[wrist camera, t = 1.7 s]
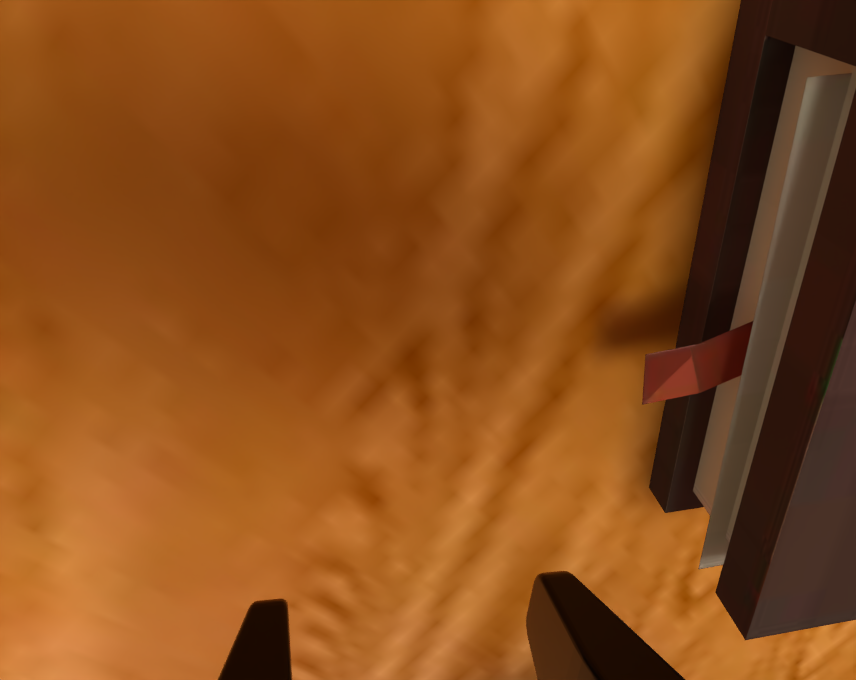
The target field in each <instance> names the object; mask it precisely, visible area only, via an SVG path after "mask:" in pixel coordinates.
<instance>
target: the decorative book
mask: <svg viewBox="0 0 856 680" xmlns="http://www.w3.org/2000/svg"><path fill="white" fill-rule="evenodd" d="M662 400H666V401H665V406H664V411H663V417H662V422H661V427H660V433H659V438H658V443H657V448H656V454H655V459H654V464H653V470H652V475H651V480H650V485H649V488H650V490H651V491H652V493H653V494H654V496H655V497H656V499H657V501H658V502H659V504H660V505H661V507H662V509H663V510H664V512H665V513H668V512H674V511H681V510H687V509H694V508H700V507H705V509H706V510H707V512H708V513H709V515H710V520H709V524H708V529H707V533H706V538H705V542H704V547H703V551H702V556H701V560H700V565H699V569H703V568H708V567H713V566H719V565H723V568H722V571H721V575H720V578H719V582H718V586H717V589H716V594H717V596H718V597H719V599H720V600H721V602H722V604H723V605H724V607H725V608H726V610H727V612H728V613H729V615H730V616H731V618H732V619H733V621H734V623H735V624H736V626H737V627H738V629H739V631H740V632H741V634H742V635H743V637H744V639H745V640H749V639H754V638H760V637H765V636H770V635H776V634H781V633H787V632H792V631H797V630H803V629H808V628H813V627H819V626H824V625H829V624H835V623H840V622H845V621H851V620H856V0H741V4H740V9H739V15H738V20H737V25H736V30H735V36H734V41H733V46H732V52H731V57H730V62H729V67H728V73H727V78H726V83H725V89H724V94H723V99H722V105H721V110H720V115H719V120H718V126H717V131H716V136H715V142H714V147H713V152H712V157H711V163H710V168H709V173H708V179H707V184H706V189H705V194H704V200H703V205H702V210H701V216H700V221H699V226H698V232H697V237H696V242H695V247H694V253H693V258H692V263H691V269H690V274H689V279H688V284H687V290H686V295H685V300H684V306H683V311H682V316H681V321H680V327H679V332H678V337H677V343H676V348H675V349H671V350H666V351H661V352H656V353H651V354H646V358H645V373H644V387H643V402H642V404H647V403H652V402H657V401H662Z"/></svg>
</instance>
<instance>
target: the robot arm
mask: <svg viewBox="0 0 856 680" xmlns="http://www.w3.org/2000/svg"><path fill="white" fill-rule="evenodd" d="M526 628H527V635H528V640H529V644H530V648H531V653H532V657H533V661H534V666H535V670H536V674H537V679H538V680H685V679H684V678H683V677H682V676H681V675H680V674H679V673H678V672H677V671H675V670H674V669H673V668H672V667H671V666H670V665H669V664H668V663H667V662H666V661H665V660H664V659H663V658H662V657H660V656H659V655H658V654H657V653H656V652H655V651H654V650H653V649H652V648H651V647H650V646H649V645H648V644H647V643H645V642H644V641H643V640H642V639H641V638H640V637H639V636H638V635H637V634H636V633H635V632H634V631H633V630H632V629H631V628H629V627H628V626H627V625H626V624H625V623H624V622H623V621H622V620H621V619H620V618H619V617H618V616H617V615H616V614H614V613H613V612H612V611H611V610H610V609H609V608H608V607H607V606H606V605H605V604H604V603H603V602H602V601H601V600H599V599H598V598H597V597H596V596H595V595H594V594H593V593H592V592H591V591H590V590H589V589H588V588H587V587H586V586H585V585H583V584H582V583H581V582H580V581H579V580H578V579H577V578H576V577H575V576H574V575H573V574H571V573H569V572H567V571H557V572H547V573H541V574H539V575H537V577H536V578H535V581H534V585H533V589H532V594H531V598H530V603H529V607H528V612H527V617H526ZM218 680H292V670H291V653H290V635H289V618H288V604H287V602H286V600H284V599H273V600H262V601H256V602H254V603H252V605H251V606H250V607H249V609H248V611H247V614H246V616H245V618H244V621H243V623H242V625H241V628H240V630H239V632H238V634H237V637H236V639H235V641H234V644H233V646H232V648H231V650H230V653H229V655H228V657H227V660H226V662H225V664H224V667H223V669H222V671H221V673H220V676H219V678H218Z"/></svg>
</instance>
